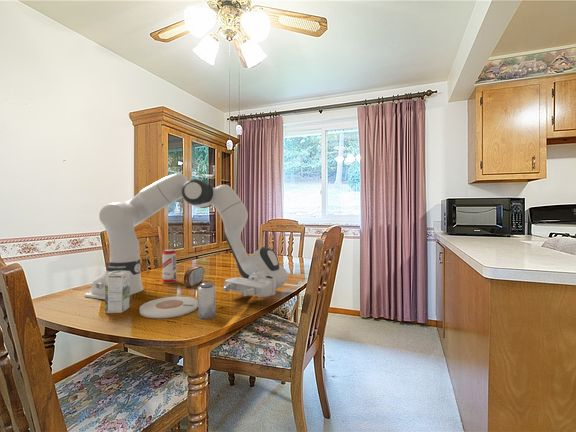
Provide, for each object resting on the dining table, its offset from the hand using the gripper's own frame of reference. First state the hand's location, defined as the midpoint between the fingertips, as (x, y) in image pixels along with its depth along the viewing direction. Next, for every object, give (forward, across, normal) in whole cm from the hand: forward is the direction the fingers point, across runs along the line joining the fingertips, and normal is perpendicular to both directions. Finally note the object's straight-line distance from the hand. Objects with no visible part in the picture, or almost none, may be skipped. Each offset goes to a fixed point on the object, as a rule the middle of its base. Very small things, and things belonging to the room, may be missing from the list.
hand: (233, 291), depth 108 cm
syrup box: (+26, -30, +7) cm, 40 cm away
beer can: (-10, -54, +7) cm, 56 cm away
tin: (-15, -41, +7) cm, 44 cm away
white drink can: (+12, 0, +7) cm, 14 cm away
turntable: (+14, -17, +5) cm, 23 cm away
